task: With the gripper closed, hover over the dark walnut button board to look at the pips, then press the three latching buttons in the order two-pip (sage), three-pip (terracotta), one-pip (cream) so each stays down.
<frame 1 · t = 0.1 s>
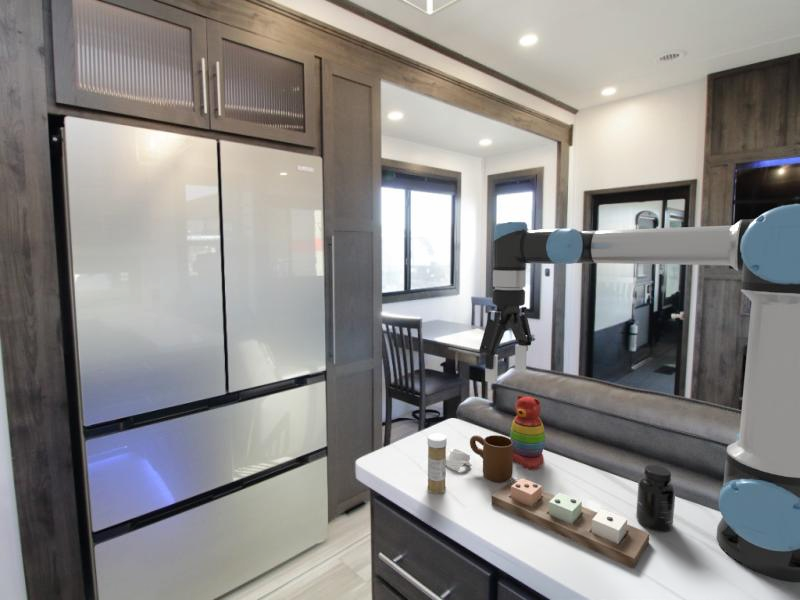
hand: (506, 376, 105), 28 cm above the kitchen island, fingers open, 13 cm apart
supplement bottle: (654, 523, 93), on the kitchen island
mug: (489, 473, 114), on the kitchen island
two-pip button: (565, 507, 93), point 3 cm above the kitchen island, slide at 0.0 cm
button board: (564, 521, 94), on the kitchen island
stacking bear: (525, 459, 122), on the kitchen island
sprinkles bottle: (436, 490, 106), on the kitchen island
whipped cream: (457, 465, 119), on the kitchen island
three-pip button: (526, 491, 99), point 3 cm above the kitchen island, slide at 0.0 cm
one-pip button: (609, 525, 87), point 3 cm above the kitchen island, slide at 0.0 cm
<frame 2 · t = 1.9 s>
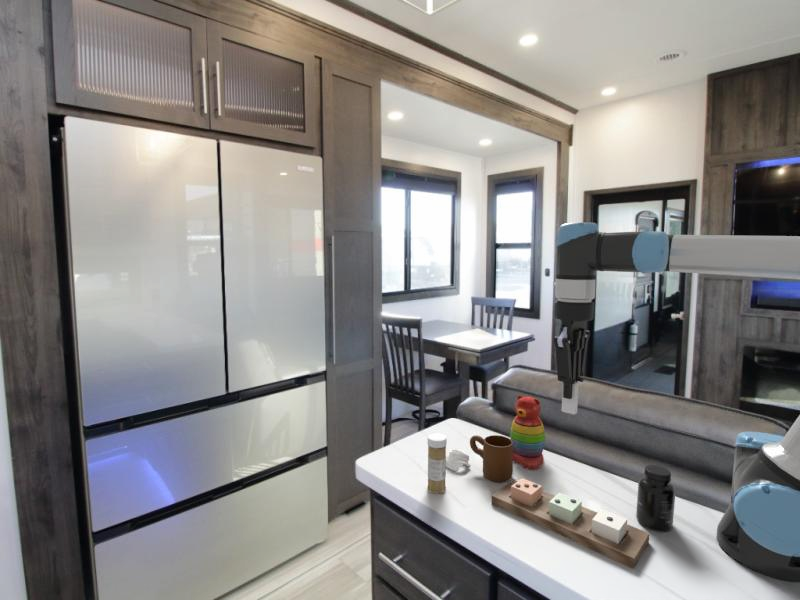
hand: (569, 412, 91), 24 cm above the kitchen island, fingers closed
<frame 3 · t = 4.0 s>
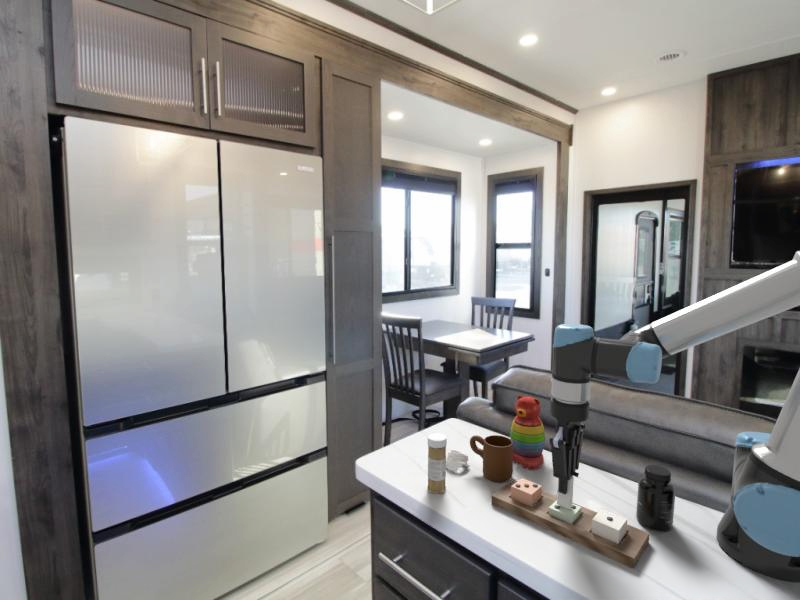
hand: (564, 504, 93), 4 cm above the kitchen island, fingers closed
two-pip button: (564, 513, 93), point 2 cm above the kitchen island, slide at 1.3 cm
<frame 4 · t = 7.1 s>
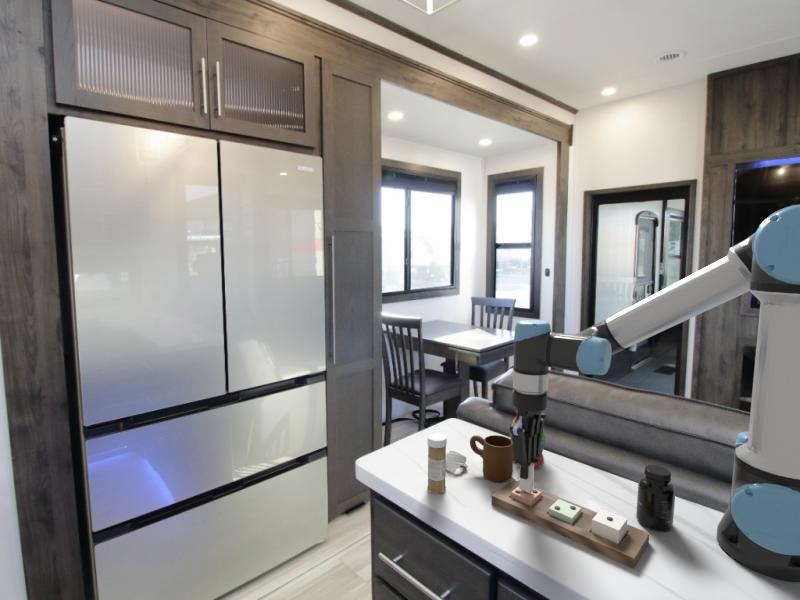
hand: (526, 489, 99), 4 cm above the kitchen island, fingers closed
three-pip button: (526, 497, 100), point 2 cm above the kitchen island, slide at 1.4 cm, touching gripper
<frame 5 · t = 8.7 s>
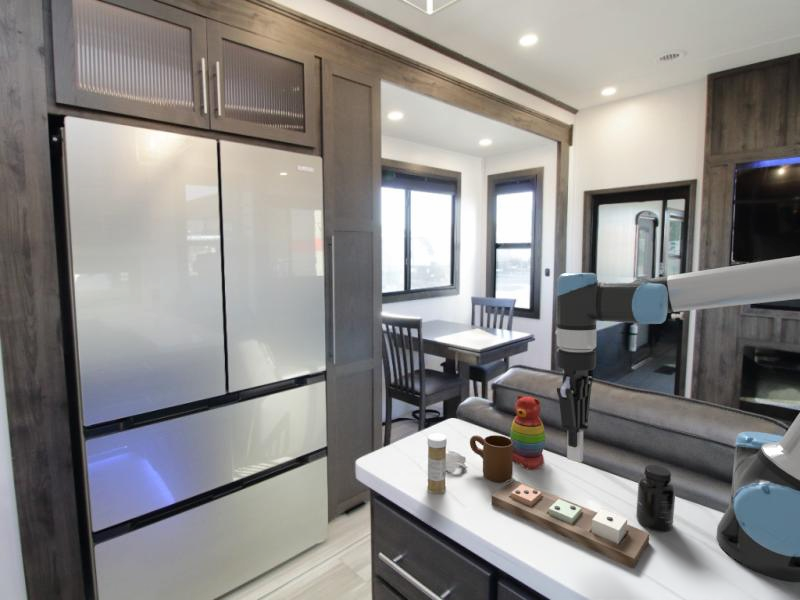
hand: (575, 459, 91), 14 cm above the kitchen island, fingers closed
three-pip button: (526, 498, 100), point 2 cm above the kitchen island, slide at 1.5 cm
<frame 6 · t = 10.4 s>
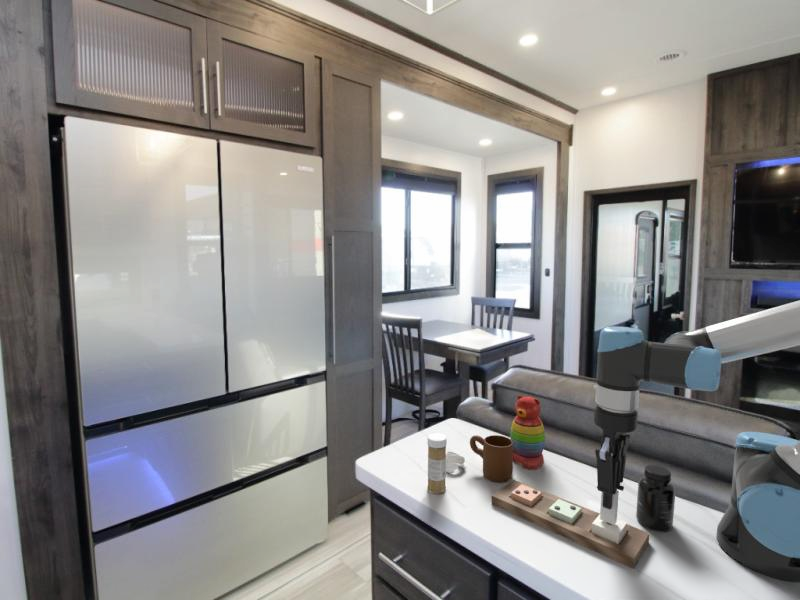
hand: (608, 520, 87), 4 cm above the kitchen island, fingers closed
one-pip button: (609, 529, 87), point 2 cm above the kitchen island, slide at 0.8 cm
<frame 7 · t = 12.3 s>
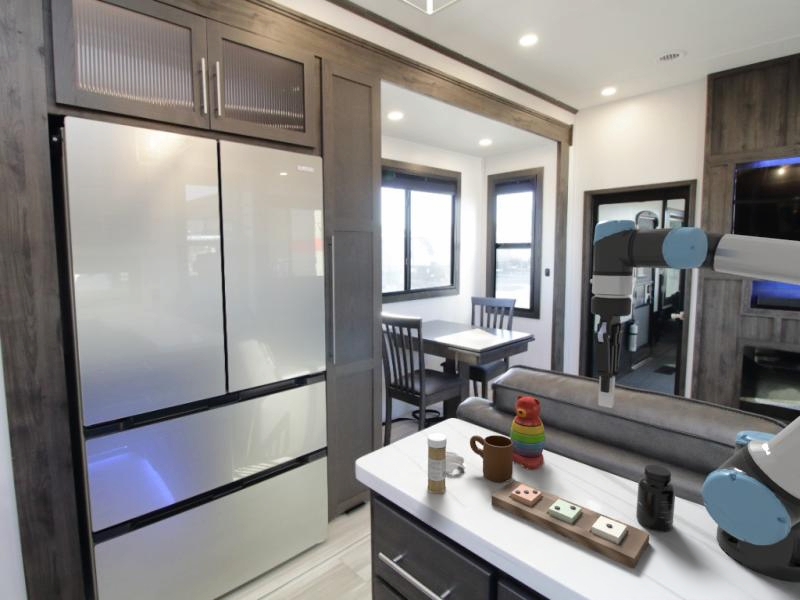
hand: (605, 405, 93), 25 cm above the kitchen island, fingers closed
one-pip button: (609, 532, 87), point 2 cm above the kitchen island, slide at 1.5 cm
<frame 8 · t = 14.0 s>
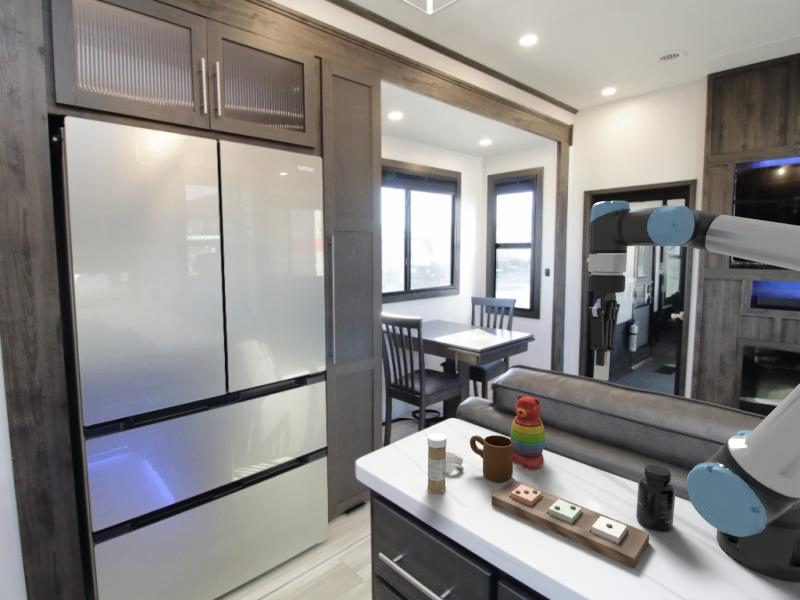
hand: (601, 378, 98), 29 cm above the kitchen island, fingers closed
at the end: two-pip button slide at 1.5 cm; three-pip button slide at 1.5 cm; one-pip button slide at 1.5 cm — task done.
